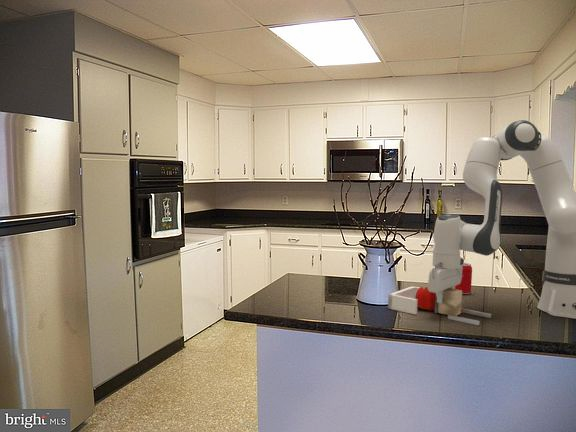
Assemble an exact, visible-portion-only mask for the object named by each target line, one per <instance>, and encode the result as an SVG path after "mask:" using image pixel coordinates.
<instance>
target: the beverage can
mask: <svg viewBox="0 0 576 432" xmlns="http://www.w3.org/2000/svg"><path fill="white" fill-rule="evenodd" d="M462 267H463V269H462V279H461V282H460V284H458V285H456V286H454V289H457V290H462V295H463V294H467V295H469V294H471V293H472V281H473V280H472V279H473V267H472V264H471V263H468V262H464V264H463V265H462Z"/></svg>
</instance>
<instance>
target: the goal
mask: <svg viewBox="0 0 576 432" xmlns="http://www.w3.org/2000/svg"><path fill="white" fill-rule="evenodd" d="M420 287H421V286H420ZM420 287H419V286H409V287H406V288H403V289H400V290H398V291H394V292H392V293H390V294H388V296H387V297H388V299H387V300H388V301H387V309H389V310H393V311H398V312H403V313H408V314H411V315H417V314H418V306H417V301H418V299H415V297H416V293H417V290H418V289H419V288H420Z"/></svg>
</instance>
